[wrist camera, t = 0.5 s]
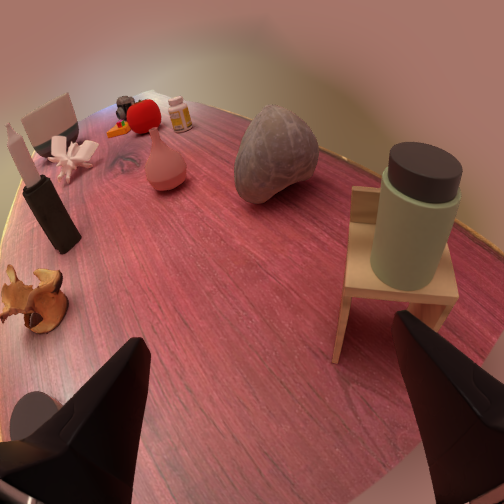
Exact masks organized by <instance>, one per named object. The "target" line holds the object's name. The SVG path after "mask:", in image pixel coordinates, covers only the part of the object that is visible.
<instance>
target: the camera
mask: <svg viewBox="0 0 504 504" xmlns="http://www.w3.org/2000/svg"><path fill="white" fill-rule="evenodd" d="M116 104H117V107H118V109H117V111H116V115H117V117H118V119H121V120H124V119H127V111H128V109H129V107H130V106H132V104H135V101H134V98H132V97H128V96H122V97H119V98H118V99H117V103H116Z"/></svg>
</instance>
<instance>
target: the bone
mask: <svg viewBox="0 0 504 504" xmlns="http://www.w3.org/2000/svg"><path fill="white" fill-rule="evenodd" d="M6 272H7V274H8V277H9V278H10V282H11V284H10V285H9V286H7V285H6V283H5V284H4V285H3V287H2V291H1V296H2V302H3V303H4V304H5V307H4V308H3V313H1V314H0V319H1V321H2V323H3V324H4V321H5V319H6V320H7V317H8V316H11V315H12V314H14V315H16V314H18V313H22V314H24V321H25V324H24V325H25V326H26V327H27V328H29V329H30V330H32V332H36V333H38V334H43V333H45V332H49V331H51V330H54V328H55V327H57V326H58V325H59V323H60V322H61V320H62V319H63V317H64V315H65V313H66V311H67V309H68V305H69V303H68V302H69V301H68V298H67V296H65V294H64V293H63V292H61V290H60V287H61V285H62V281H63V276H62V273H61V272H60V270H57V271H51V270H48V269H39V268H38V269H36V270H35V271H34V272H33V273H34V275H36V276H37V277H38V278H39V280H40V281H41V283H39V286H38V287H37V288H36V289H34V290H33V289H32V285H29V286H28V285H24V284H23V282H22V281H20V280H19V279H18V278H17V276H16V272H15V270H14V268H13V266H12V265H8V266H7V270H6ZM33 312H35V313H36V312H37V313H39V314H40V315H41V316H42V317H43V318H44V319H43V321H40V323H39V324H38V325H37V326H35V327H33V328H31V327H30V317H31V314H32V313H33ZM37 313H36V314H37ZM46 334H48V333H46Z"/></svg>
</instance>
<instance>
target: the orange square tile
mask: <svg viewBox="0 0 504 504" xmlns="http://www.w3.org/2000/svg"><path fill="white" fill-rule="evenodd" d="M130 130H131V128H130V127H129V125H128V122H127V121H126V122H124V120H121V121H118V122H117V123H116V125H115V126H114V127H113V128H111V129H110V130H109V131H108V132H107V136H108V138H111V137H114V136H118V135H122V134H126V133H128V132H129V131H130Z"/></svg>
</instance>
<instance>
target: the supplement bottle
mask: <svg viewBox="0 0 504 504" xmlns="http://www.w3.org/2000/svg"><path fill="white" fill-rule="evenodd" d="M168 102H169V105H170V106H171V107H169V109H168V111H169V115H170V118H171V122H172V125H173V129H174V131H175V132H176V133H180V132H184V131H187V130H189V129H191V128H192V122H191V118H190V115H189V111H188V107H187V104H186V103H183V98H182V96H177V97H174V98H171V99H169V100H168Z"/></svg>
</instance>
